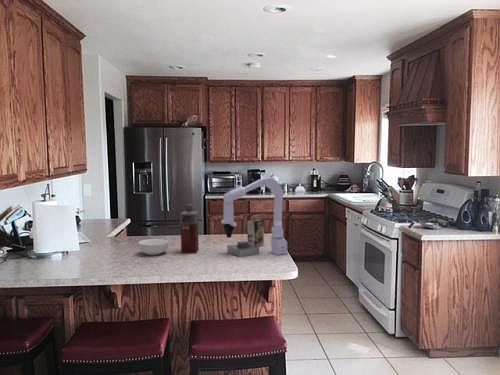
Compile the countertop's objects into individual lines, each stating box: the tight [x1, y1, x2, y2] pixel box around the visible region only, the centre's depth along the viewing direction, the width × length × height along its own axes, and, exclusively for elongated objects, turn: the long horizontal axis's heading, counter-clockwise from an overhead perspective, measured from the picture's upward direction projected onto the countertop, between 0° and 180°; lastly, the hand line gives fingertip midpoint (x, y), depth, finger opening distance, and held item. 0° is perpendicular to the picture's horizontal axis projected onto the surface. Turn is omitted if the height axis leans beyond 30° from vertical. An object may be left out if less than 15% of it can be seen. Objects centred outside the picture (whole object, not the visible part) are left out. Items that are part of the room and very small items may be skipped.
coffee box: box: [247, 218, 265, 247], centre depth 264 cm, size 9×6×16 cm
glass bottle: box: [179, 203, 200, 254], centre depth 248 cm, size 9×11×28 cm
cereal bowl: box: [138, 238, 169, 256], centre depth 246 cm, size 17×17×7 cm
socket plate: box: [226, 243, 260, 258], centre depth 244 cm, size 14×13×4 cm
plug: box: [237, 240, 249, 248], centre depth 244 cm, size 4×5×6 cm
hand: (229, 237), depth 243 cm, fingers closed
